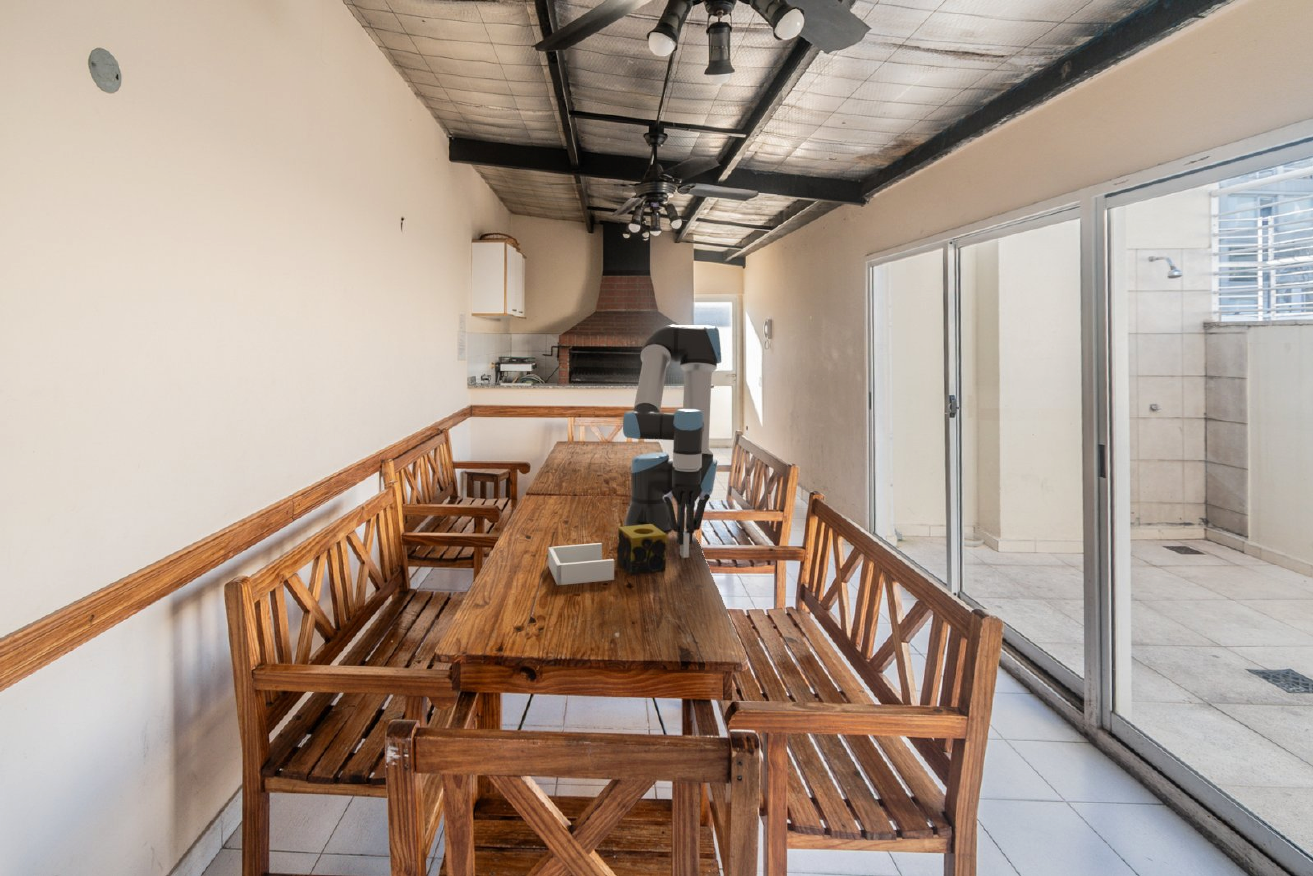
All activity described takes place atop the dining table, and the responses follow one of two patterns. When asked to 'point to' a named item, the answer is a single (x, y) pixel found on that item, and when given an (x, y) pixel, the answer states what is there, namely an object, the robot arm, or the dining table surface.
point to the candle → (641, 549)
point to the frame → (579, 564)
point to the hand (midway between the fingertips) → (684, 555)
